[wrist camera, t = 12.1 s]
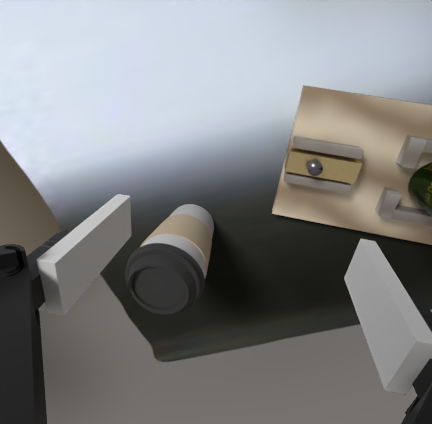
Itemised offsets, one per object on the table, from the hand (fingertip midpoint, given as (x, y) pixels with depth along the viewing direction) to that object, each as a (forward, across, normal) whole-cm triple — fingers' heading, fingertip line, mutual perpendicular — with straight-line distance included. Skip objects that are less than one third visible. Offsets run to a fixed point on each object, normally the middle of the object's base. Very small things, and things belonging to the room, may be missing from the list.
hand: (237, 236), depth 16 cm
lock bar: (+21, +8, 0) cm, 23 cm away
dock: (+22, +16, 0) cm, 28 cm away
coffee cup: (+23, -7, -13) cm, 27 cm away
